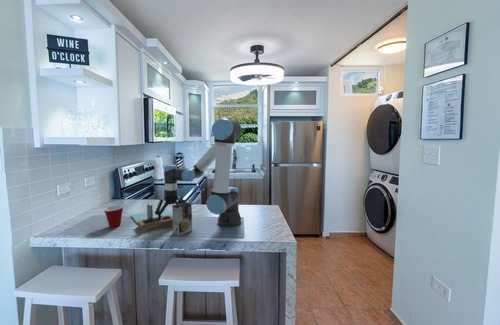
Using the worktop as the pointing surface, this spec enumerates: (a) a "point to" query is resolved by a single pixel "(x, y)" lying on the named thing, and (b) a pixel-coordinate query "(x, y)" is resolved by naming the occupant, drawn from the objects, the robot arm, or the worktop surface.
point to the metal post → (149, 213)
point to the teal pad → (144, 215)
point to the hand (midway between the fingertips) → (171, 222)
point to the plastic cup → (114, 215)
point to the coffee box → (182, 218)
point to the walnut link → (155, 223)
